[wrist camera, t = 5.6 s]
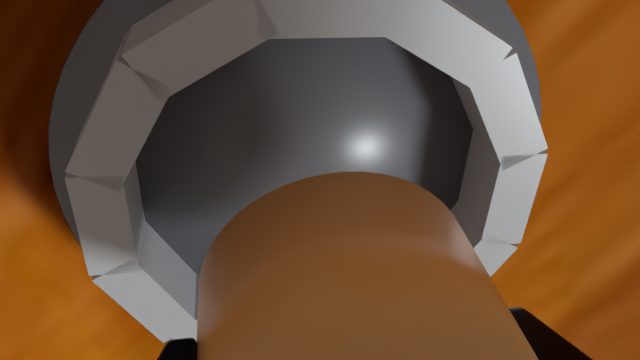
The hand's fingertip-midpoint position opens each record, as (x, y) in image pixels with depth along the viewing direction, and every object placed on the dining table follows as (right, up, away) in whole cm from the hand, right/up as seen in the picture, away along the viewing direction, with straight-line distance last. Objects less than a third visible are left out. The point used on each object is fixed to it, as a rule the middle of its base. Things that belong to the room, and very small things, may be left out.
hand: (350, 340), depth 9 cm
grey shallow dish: (-1, +3, +5) cm, 6 cm away
